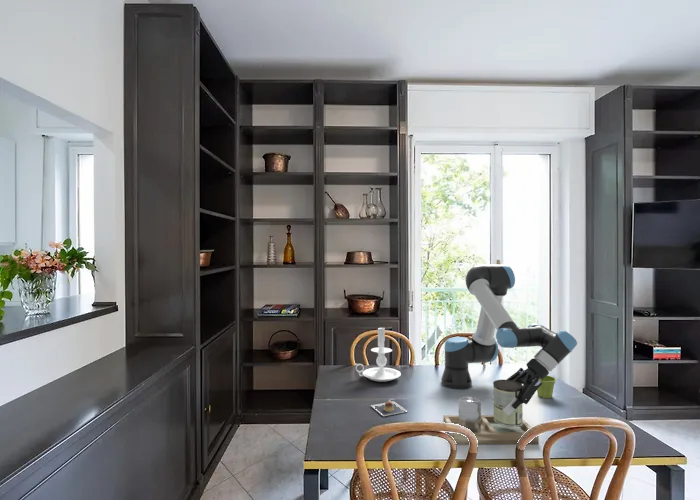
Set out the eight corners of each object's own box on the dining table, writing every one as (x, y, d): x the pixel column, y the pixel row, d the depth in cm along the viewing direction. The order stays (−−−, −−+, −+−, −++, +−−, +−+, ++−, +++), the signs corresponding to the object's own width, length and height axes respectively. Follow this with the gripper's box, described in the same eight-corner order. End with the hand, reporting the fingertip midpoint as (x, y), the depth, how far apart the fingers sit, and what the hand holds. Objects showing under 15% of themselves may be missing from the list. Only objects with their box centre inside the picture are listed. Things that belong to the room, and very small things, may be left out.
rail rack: (443, 424, 154) (443, 415, 154) (518, 423, 155) (518, 415, 155) (454, 444, 138) (454, 434, 138) (538, 444, 139) (538, 434, 139)
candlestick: (352, 373, 218) (352, 323, 218) (396, 372, 220) (396, 322, 220) (356, 386, 197) (356, 331, 197) (404, 385, 199) (404, 330, 199)
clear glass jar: (456, 424, 150) (456, 396, 150) (476, 424, 151) (476, 396, 151) (462, 434, 142) (462, 404, 142) (483, 434, 143) (483, 404, 143)
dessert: (383, 418, 161) (383, 407, 161) (370, 407, 172) (370, 397, 172) (408, 413, 166) (408, 402, 166) (393, 403, 177) (393, 393, 177)
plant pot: (558, 400, 178) (558, 381, 178) (536, 399, 180) (536, 380, 180) (552, 393, 187) (552, 375, 187) (531, 392, 189) (531, 374, 189)
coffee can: (493, 414, 153) (492, 378, 153) (521, 417, 149) (521, 380, 150) (493, 425, 143) (493, 386, 143) (524, 429, 140) (524, 390, 140)
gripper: (565, 382, 135) (520, 427, 135) (534, 363, 158) (495, 402, 158) (549, 366, 135) (504, 412, 135) (520, 350, 158) (482, 389, 158)
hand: (499, 407), depth 146 cm, fingers closed on coffee can, 10 cm apart
